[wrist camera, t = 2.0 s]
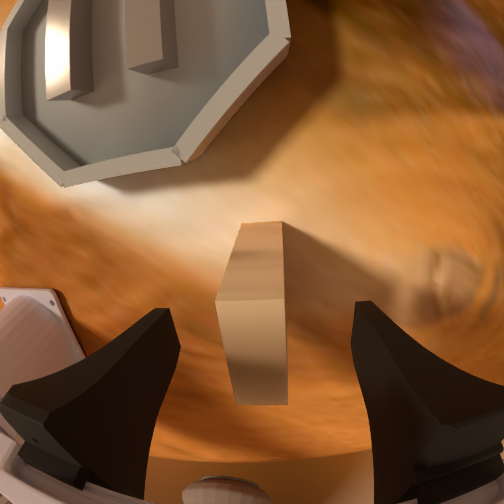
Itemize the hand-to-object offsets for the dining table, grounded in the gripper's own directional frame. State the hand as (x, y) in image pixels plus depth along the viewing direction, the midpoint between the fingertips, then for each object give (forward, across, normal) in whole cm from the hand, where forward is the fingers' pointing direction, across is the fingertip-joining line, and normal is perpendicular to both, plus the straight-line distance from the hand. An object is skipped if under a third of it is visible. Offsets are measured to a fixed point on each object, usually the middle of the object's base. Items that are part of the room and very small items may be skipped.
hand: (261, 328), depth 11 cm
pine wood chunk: (+5, 0, 0) cm, 5 cm away
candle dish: (+5, +6, -14) cm, 16 cm away
